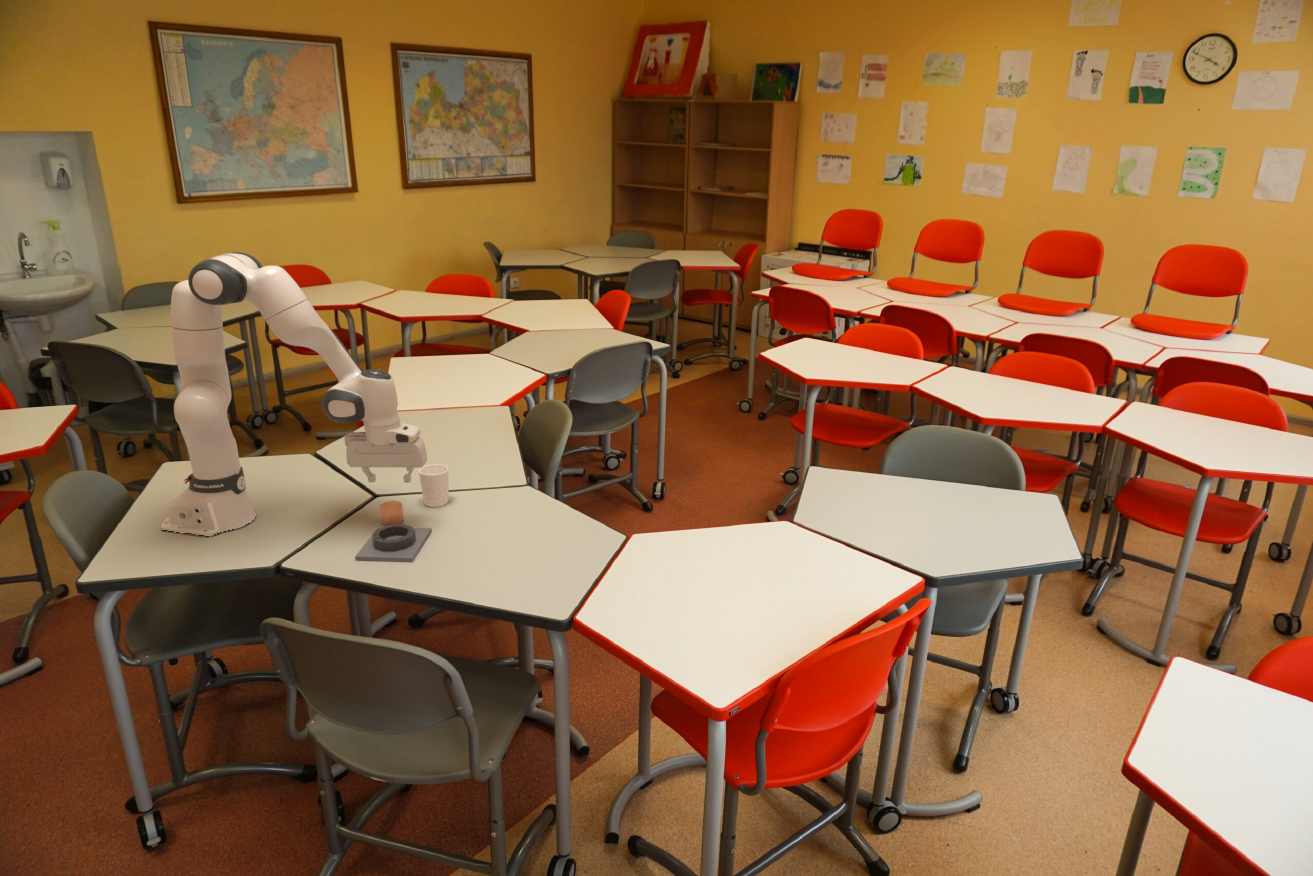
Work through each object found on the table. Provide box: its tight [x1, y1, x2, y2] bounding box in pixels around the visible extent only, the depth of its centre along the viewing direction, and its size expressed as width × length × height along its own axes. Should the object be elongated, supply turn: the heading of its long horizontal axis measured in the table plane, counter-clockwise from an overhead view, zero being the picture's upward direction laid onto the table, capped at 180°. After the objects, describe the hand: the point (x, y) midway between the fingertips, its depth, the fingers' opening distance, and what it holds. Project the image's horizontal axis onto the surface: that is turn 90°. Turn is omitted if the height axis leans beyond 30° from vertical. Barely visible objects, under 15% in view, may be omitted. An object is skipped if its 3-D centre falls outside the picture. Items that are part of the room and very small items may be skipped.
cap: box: [379, 500, 405, 527], centre depth 216 cm, size 6×6×5 cm
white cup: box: [418, 463, 450, 508], centre depth 227 cm, size 8×8×10 cm
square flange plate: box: [354, 523, 433, 563], centre depth 204 cm, size 14×16×4 cm
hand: (390, 481), depth 213 cm, fingers open, 8 cm apart
